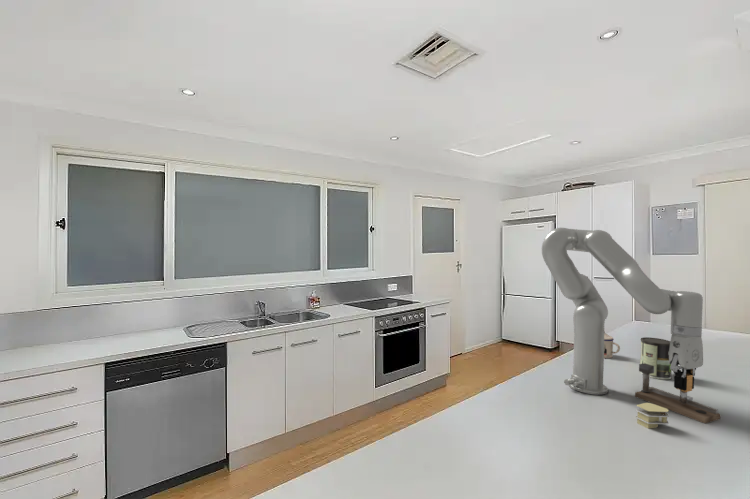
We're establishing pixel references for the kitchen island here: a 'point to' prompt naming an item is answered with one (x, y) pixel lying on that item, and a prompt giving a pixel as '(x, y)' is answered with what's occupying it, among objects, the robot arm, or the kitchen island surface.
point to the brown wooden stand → (674, 400)
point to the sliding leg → (683, 394)
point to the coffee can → (656, 357)
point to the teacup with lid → (609, 346)
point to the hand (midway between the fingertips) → (683, 387)
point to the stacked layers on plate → (651, 415)
